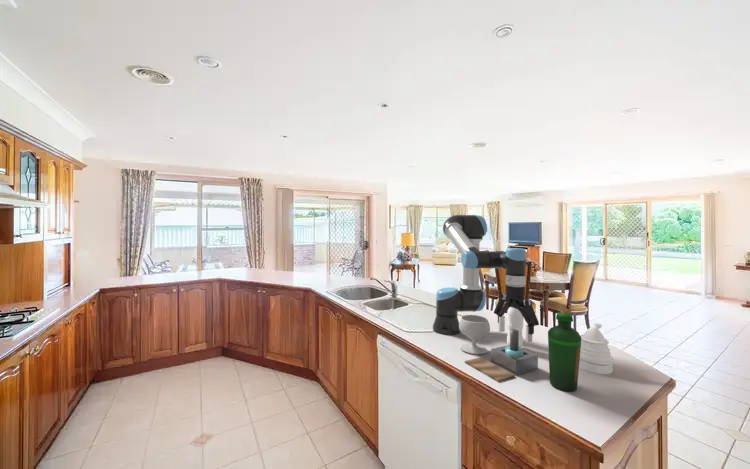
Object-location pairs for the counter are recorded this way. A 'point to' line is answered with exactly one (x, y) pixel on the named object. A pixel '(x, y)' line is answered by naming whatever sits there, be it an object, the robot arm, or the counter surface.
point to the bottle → (564, 352)
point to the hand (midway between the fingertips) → (514, 336)
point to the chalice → (474, 332)
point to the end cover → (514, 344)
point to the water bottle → (515, 324)
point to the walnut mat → (490, 369)
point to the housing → (514, 361)
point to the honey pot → (595, 352)
